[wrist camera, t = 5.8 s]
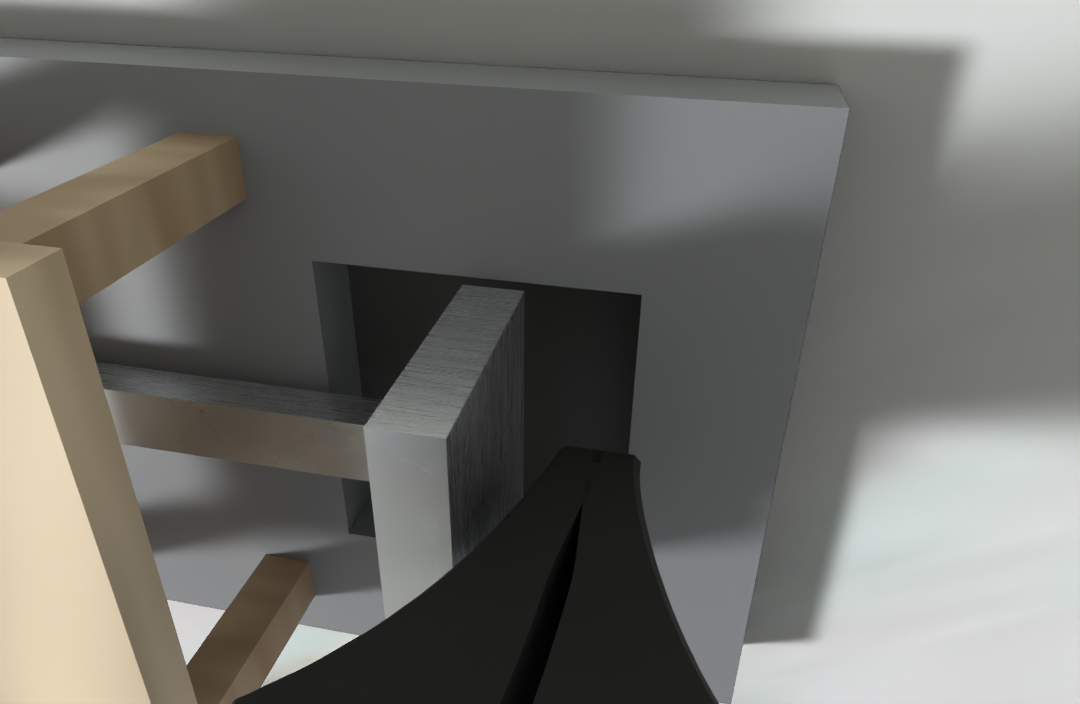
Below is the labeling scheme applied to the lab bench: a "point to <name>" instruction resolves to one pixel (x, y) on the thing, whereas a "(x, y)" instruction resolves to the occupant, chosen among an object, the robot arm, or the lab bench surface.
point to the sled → (372, 434)
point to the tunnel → (105, 455)
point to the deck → (459, 283)
